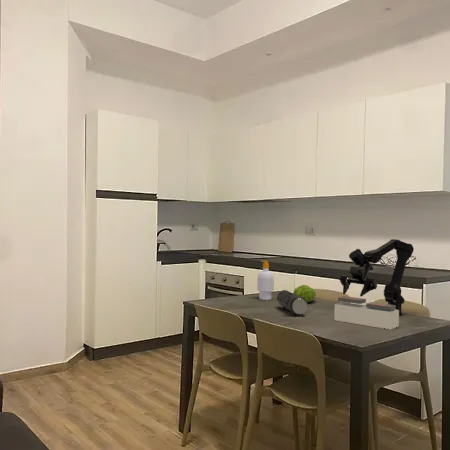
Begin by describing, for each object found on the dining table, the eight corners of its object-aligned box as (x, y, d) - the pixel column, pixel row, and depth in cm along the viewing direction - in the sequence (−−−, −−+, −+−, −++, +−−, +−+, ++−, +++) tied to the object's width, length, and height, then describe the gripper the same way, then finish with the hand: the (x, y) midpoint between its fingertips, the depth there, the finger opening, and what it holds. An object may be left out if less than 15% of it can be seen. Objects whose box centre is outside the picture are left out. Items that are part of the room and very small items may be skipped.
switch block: (343, 317, 245) (343, 302, 245) (398, 326, 226) (398, 309, 226) (334, 320, 239) (334, 304, 239) (390, 329, 219) (390, 312, 219)
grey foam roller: (292, 307, 275) (292, 289, 275) (308, 317, 247) (309, 297, 247) (276, 307, 273) (276, 289, 273) (291, 317, 245) (291, 297, 245)
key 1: (343, 299, 244) (343, 296, 244) (365, 302, 236) (365, 298, 236) (338, 301, 239) (338, 297, 239) (360, 304, 231) (360, 300, 231)
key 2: (371, 305, 234) (371, 302, 233) (395, 309, 225) (395, 305, 225) (365, 307, 229) (366, 303, 229) (390, 310, 221) (390, 306, 221)
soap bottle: (256, 297, 307) (257, 260, 307) (273, 298, 306) (273, 260, 306) (257, 300, 297) (258, 261, 296) (274, 300, 296) (274, 261, 296)
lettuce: (320, 290, 306) (304, 278, 309) (317, 294, 283) (300, 280, 286) (308, 305, 308) (292, 293, 311) (305, 309, 284) (288, 296, 287)
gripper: (340, 259, 247) (329, 282, 239) (375, 262, 235) (364, 286, 227) (348, 273, 253) (337, 296, 245) (381, 276, 241) (371, 301, 233)
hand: (352, 295), depth 237 cm, fingers open, 9 cm apart
